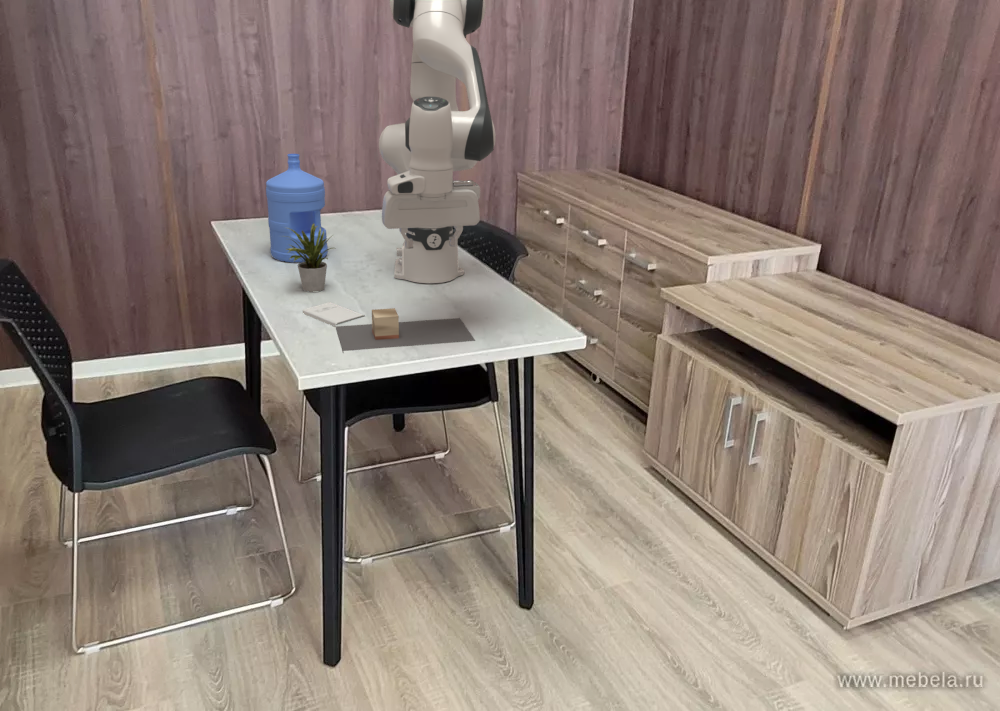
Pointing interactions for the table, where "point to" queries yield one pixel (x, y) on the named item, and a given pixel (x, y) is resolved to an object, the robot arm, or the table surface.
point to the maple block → (385, 324)
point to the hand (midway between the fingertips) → (431, 246)
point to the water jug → (294, 209)
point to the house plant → (311, 261)
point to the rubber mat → (405, 334)
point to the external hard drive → (332, 313)
